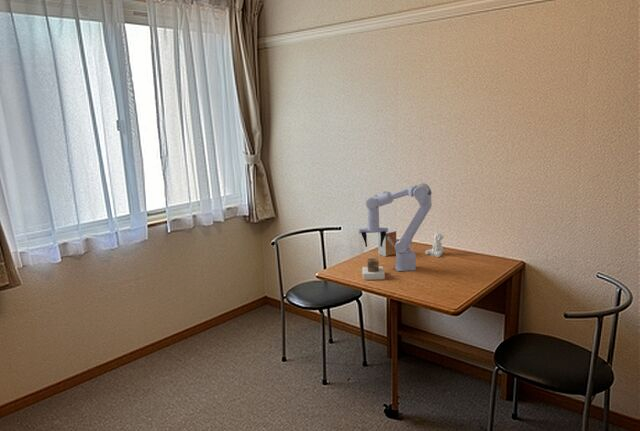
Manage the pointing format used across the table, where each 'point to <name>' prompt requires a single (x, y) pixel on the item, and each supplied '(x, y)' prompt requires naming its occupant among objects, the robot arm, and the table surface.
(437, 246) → the white creature statuette
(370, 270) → the walnut cube
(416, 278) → the table surface
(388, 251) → the small box
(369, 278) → the base block
